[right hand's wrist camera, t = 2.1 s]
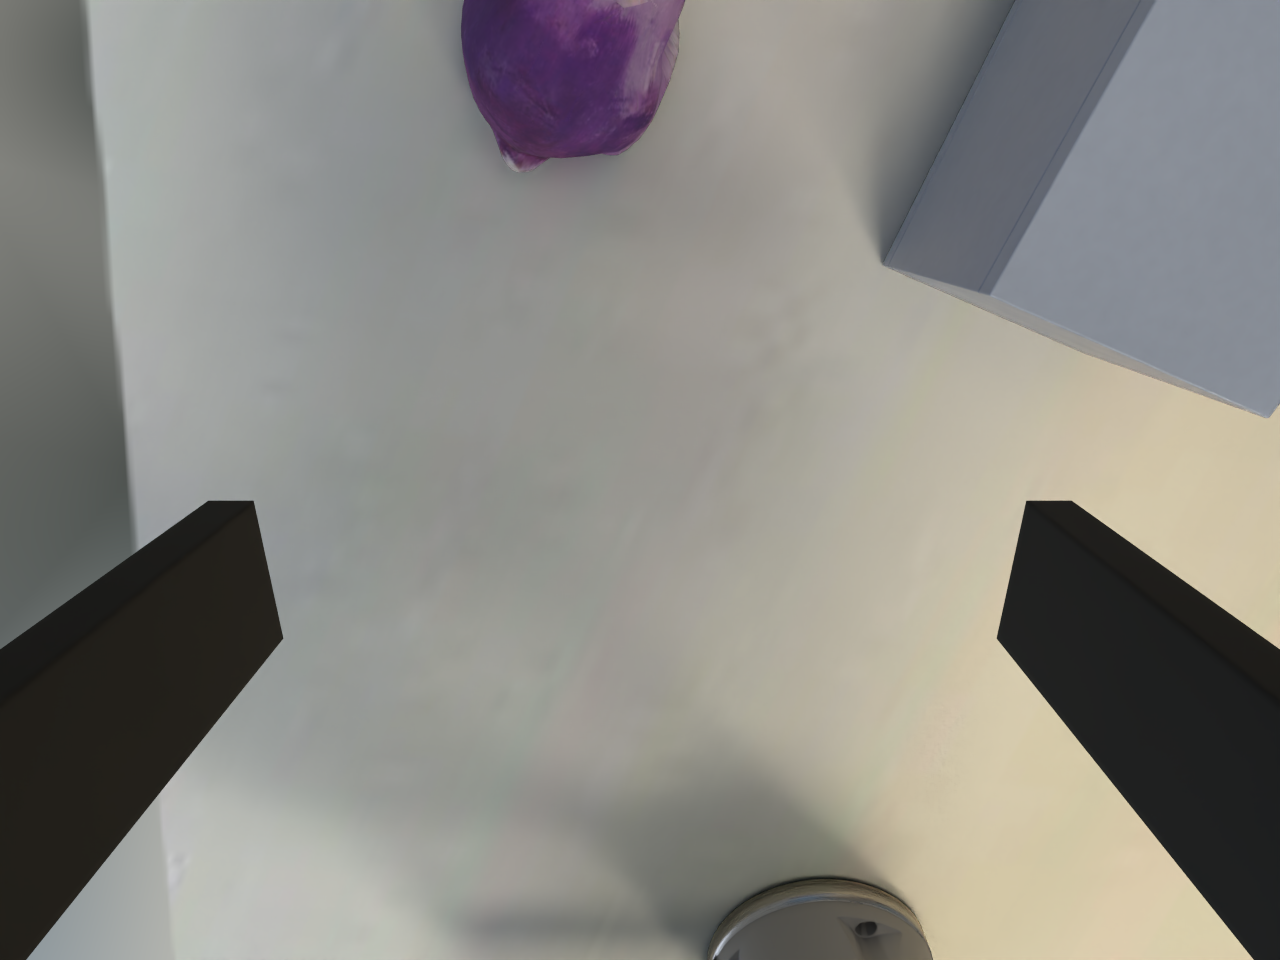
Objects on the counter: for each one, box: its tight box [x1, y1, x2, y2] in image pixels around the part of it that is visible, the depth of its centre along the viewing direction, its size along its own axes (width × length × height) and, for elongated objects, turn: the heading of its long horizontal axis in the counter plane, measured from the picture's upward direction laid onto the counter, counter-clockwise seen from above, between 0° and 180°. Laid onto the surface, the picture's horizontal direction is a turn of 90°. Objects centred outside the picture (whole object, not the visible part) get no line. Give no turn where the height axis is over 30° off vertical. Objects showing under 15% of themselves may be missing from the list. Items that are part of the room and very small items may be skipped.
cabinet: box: [883, 0, 1280, 418], centre depth 26 cm, size 16×11×11 cm
